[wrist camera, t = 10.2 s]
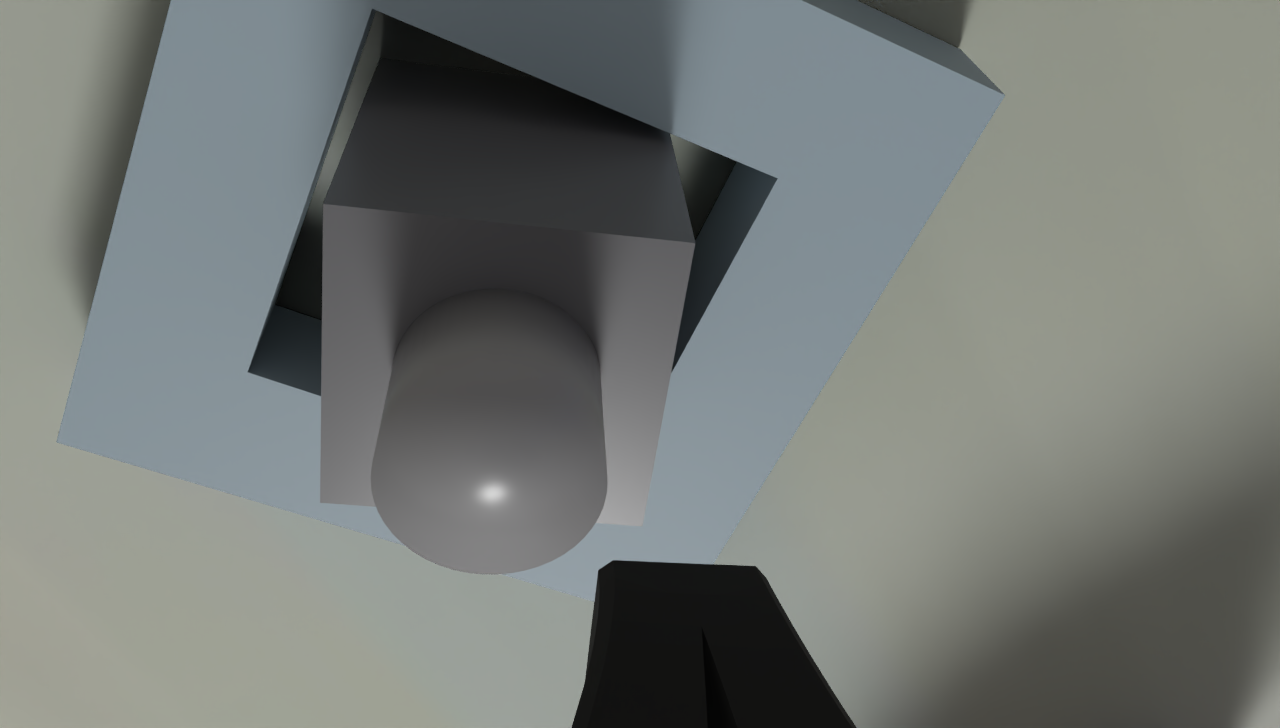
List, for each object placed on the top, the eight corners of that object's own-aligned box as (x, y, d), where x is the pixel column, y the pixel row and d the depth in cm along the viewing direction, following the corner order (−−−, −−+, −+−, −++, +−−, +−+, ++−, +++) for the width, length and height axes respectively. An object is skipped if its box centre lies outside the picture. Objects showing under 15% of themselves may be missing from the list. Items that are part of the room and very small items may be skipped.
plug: (380, 57, 17) (287, 293, 11) (659, 91, 17) (717, 334, 11) (372, 305, 19) (290, 617, 13) (622, 329, 19) (654, 640, 14)
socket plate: (274, -276, 15) (238, -264, 13) (960, 49, 17) (1005, 95, 16) (99, 370, 19) (56, 442, 17) (664, 547, 22) (675, 625, 20)
